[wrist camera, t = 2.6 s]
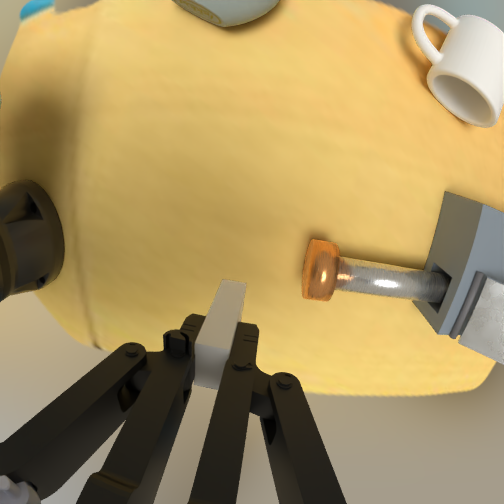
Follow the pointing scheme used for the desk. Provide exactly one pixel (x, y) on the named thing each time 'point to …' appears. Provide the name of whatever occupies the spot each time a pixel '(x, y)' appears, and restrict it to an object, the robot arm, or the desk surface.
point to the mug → (465, 65)
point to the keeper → (487, 322)
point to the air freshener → (227, 10)
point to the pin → (366, 277)
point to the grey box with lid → (463, 260)
